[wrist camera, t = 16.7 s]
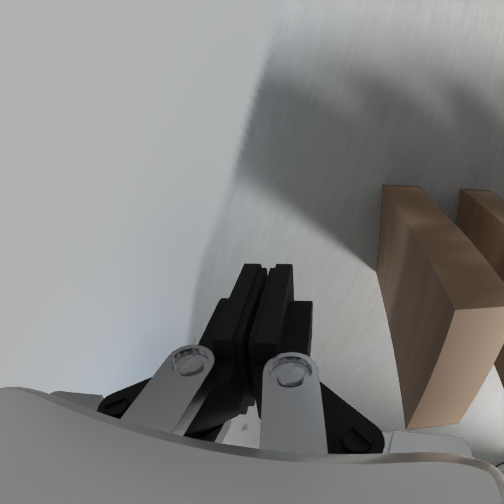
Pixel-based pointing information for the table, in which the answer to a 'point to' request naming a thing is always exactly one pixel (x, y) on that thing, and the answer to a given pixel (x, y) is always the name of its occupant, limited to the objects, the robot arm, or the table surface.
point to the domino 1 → (436, 307)
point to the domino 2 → (485, 235)
